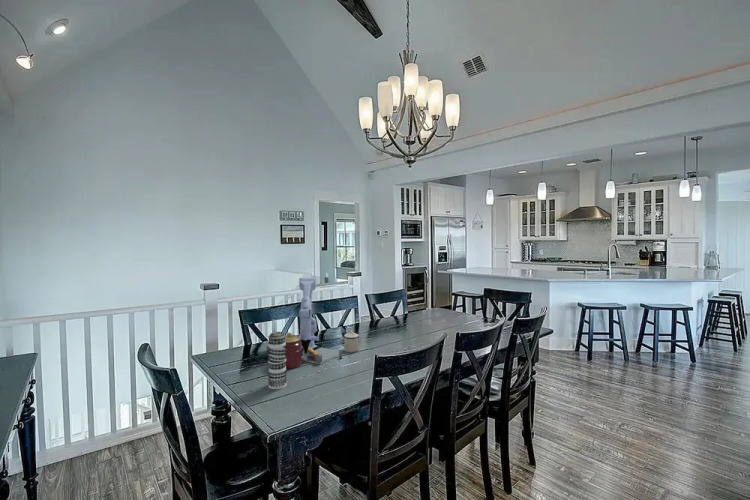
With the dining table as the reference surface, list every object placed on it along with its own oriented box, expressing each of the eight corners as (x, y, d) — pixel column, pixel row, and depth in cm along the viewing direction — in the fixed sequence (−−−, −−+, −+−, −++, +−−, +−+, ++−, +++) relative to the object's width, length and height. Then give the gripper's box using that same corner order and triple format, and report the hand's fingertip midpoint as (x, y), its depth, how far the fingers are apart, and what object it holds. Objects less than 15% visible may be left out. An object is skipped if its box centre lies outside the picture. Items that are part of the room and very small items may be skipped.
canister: (296, 369, 200) (295, 336, 199) (273, 368, 202) (272, 335, 201) (305, 361, 212) (305, 330, 211) (284, 360, 215) (283, 329, 214)
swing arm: (323, 361, 208) (323, 355, 208) (317, 362, 206) (317, 355, 206) (310, 351, 225) (310, 345, 225) (304, 352, 223) (304, 346, 223)
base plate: (297, 359, 215) (296, 351, 215) (321, 349, 234) (320, 341, 234) (327, 366, 205) (327, 357, 205) (349, 354, 224) (349, 346, 224)
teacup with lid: (359, 348, 236) (359, 329, 236) (357, 352, 227) (357, 333, 227) (340, 347, 238) (340, 329, 237) (337, 352, 229) (337, 332, 228)
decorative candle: (279, 380, 186) (278, 329, 185) (291, 384, 180) (290, 332, 179) (263, 385, 179) (262, 333, 178) (275, 391, 173) (274, 336, 172)
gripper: (291, 331, 211) (291, 355, 212) (317, 331, 212) (317, 355, 212) (293, 328, 218) (294, 351, 219) (319, 327, 219) (319, 351, 219)
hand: (305, 353), depth 216 cm, fingers closed
